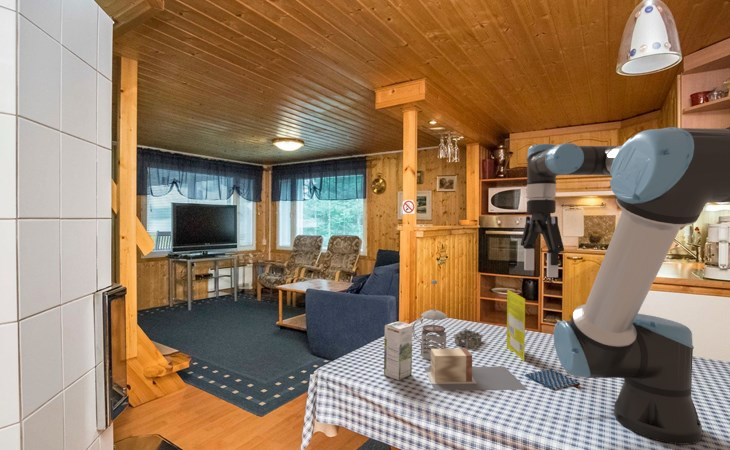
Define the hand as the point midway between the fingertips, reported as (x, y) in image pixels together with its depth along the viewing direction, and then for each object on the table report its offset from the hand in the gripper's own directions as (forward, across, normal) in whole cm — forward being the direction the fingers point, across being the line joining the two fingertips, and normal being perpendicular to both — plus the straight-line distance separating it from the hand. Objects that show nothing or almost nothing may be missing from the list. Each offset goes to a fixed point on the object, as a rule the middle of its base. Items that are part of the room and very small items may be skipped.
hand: (540, 273), depth 110 cm
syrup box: (+29, -1, +41) cm, 50 cm away
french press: (+29, +12, +29) cm, 43 cm away
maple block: (+28, -5, +27) cm, 39 cm away
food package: (+29, +14, +1) cm, 32 cm away
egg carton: (+29, +26, +13) cm, 41 cm away
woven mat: (+29, -7, 0) cm, 30 cm away
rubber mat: (+29, -5, +21) cm, 36 cm away
